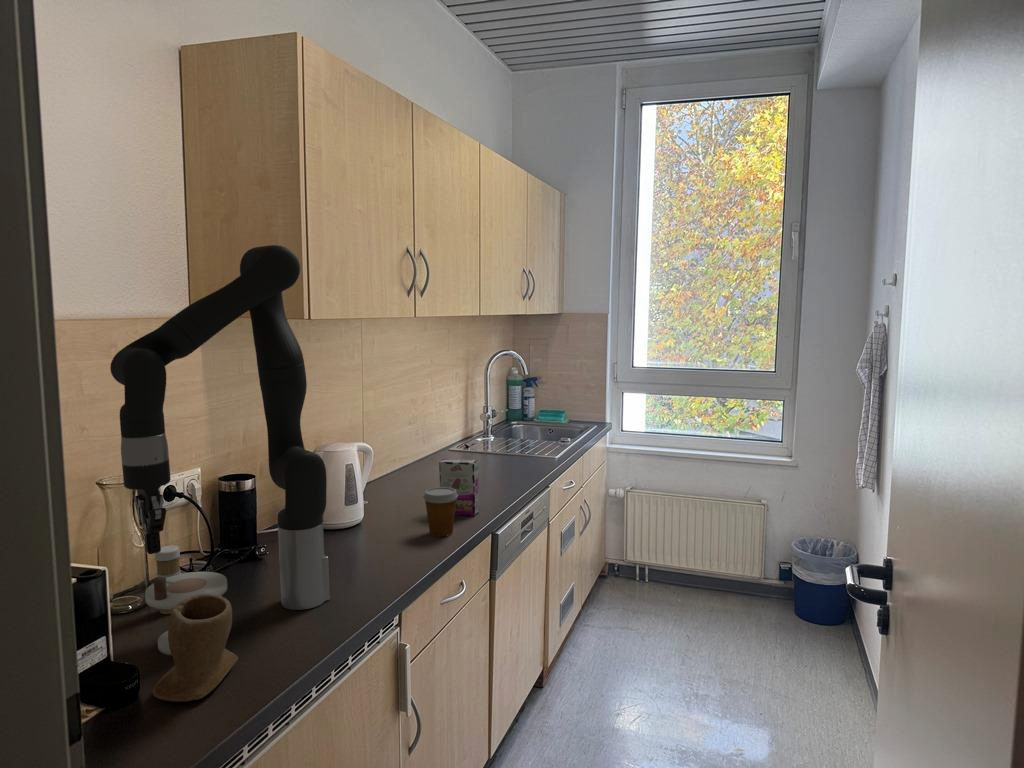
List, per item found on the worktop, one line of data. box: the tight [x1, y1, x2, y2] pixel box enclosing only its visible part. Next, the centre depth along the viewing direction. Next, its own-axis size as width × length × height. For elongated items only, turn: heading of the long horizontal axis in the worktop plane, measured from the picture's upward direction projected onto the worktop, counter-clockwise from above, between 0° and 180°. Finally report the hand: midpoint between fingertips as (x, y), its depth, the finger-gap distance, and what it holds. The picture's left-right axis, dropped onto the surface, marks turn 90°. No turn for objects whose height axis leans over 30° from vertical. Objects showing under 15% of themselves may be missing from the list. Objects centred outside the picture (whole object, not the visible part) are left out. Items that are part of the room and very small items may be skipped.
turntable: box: [144, 571, 228, 610], centre depth 133 cm, size 14×14×5 cm
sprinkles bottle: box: [154, 545, 182, 615], centre depth 147 cm, size 5×5×13 cm
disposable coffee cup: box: [423, 486, 458, 537], centre depth 196 cm, size 10×10×12 cm
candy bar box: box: [438, 458, 480, 517], centre depth 214 cm, size 11×5×16 cm, turn 76°
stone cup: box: [152, 594, 239, 703], centre depth 119 cm, size 15×12×15 cm
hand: (153, 552), depth 129 cm, fingers closed
